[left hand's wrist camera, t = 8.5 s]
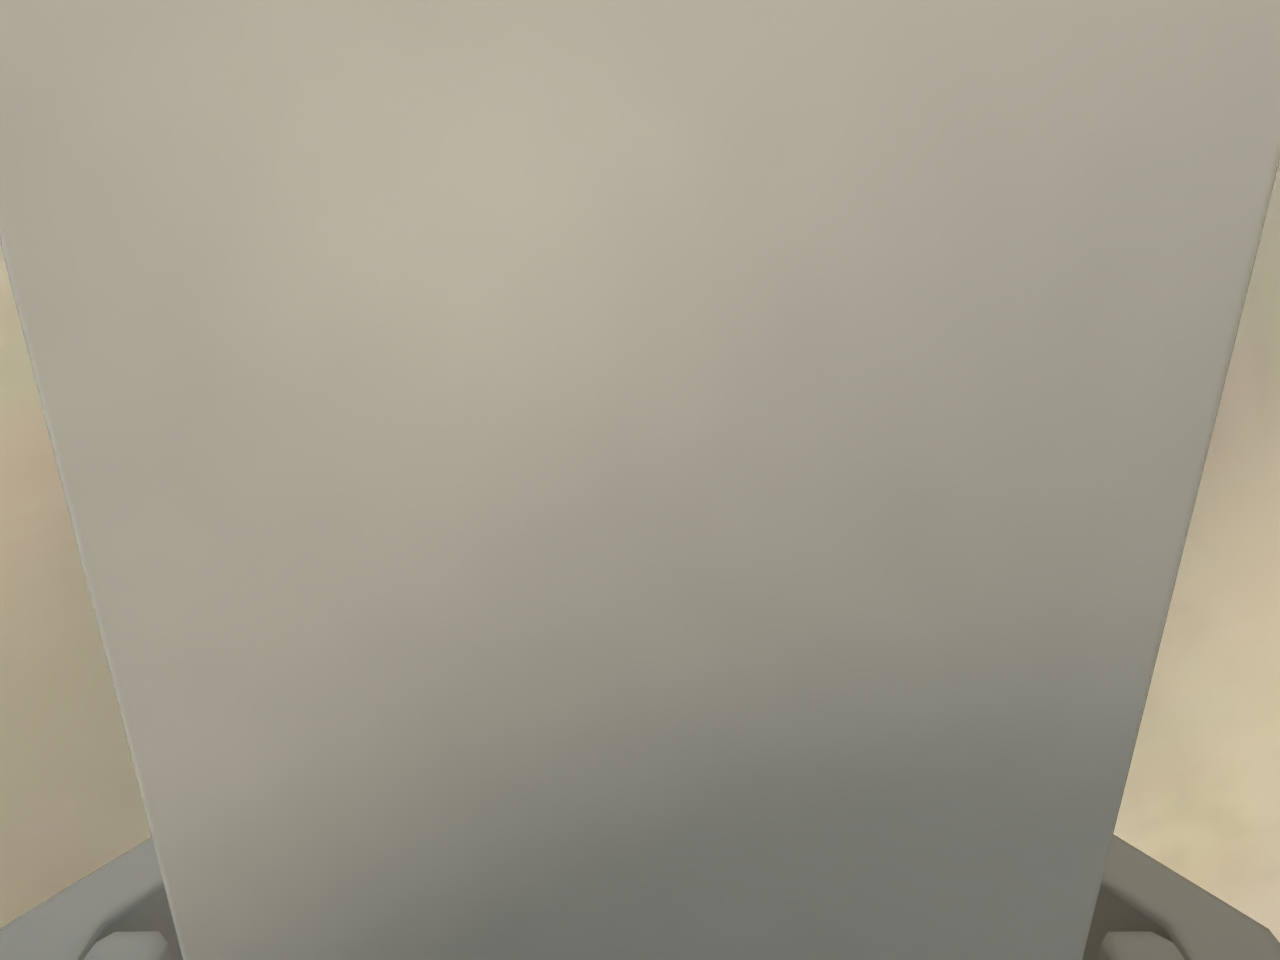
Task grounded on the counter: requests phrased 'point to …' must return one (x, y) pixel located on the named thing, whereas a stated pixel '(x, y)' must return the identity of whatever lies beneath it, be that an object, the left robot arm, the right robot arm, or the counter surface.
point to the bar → (633, 449)
